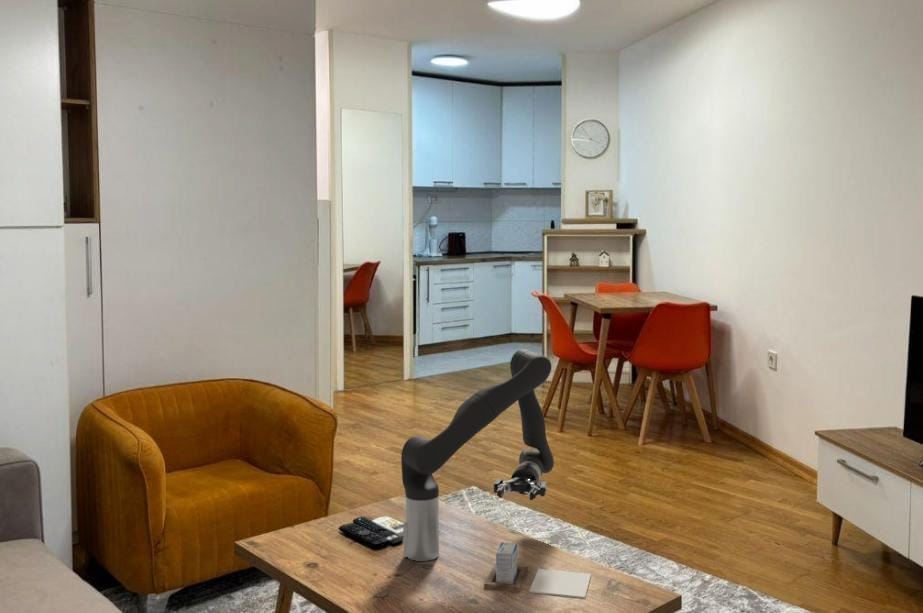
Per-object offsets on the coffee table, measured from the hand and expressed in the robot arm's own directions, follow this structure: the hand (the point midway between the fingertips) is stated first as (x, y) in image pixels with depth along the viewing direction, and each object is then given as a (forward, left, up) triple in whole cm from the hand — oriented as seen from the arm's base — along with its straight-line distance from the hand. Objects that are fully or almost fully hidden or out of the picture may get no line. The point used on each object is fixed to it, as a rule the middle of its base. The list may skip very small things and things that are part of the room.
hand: (515, 495), depth 234 cm
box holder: (0, -11, -19) cm, 22 cm away
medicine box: (0, -11, -19) cm, 22 cm away
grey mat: (+14, -10, -19) cm, 26 cm away
